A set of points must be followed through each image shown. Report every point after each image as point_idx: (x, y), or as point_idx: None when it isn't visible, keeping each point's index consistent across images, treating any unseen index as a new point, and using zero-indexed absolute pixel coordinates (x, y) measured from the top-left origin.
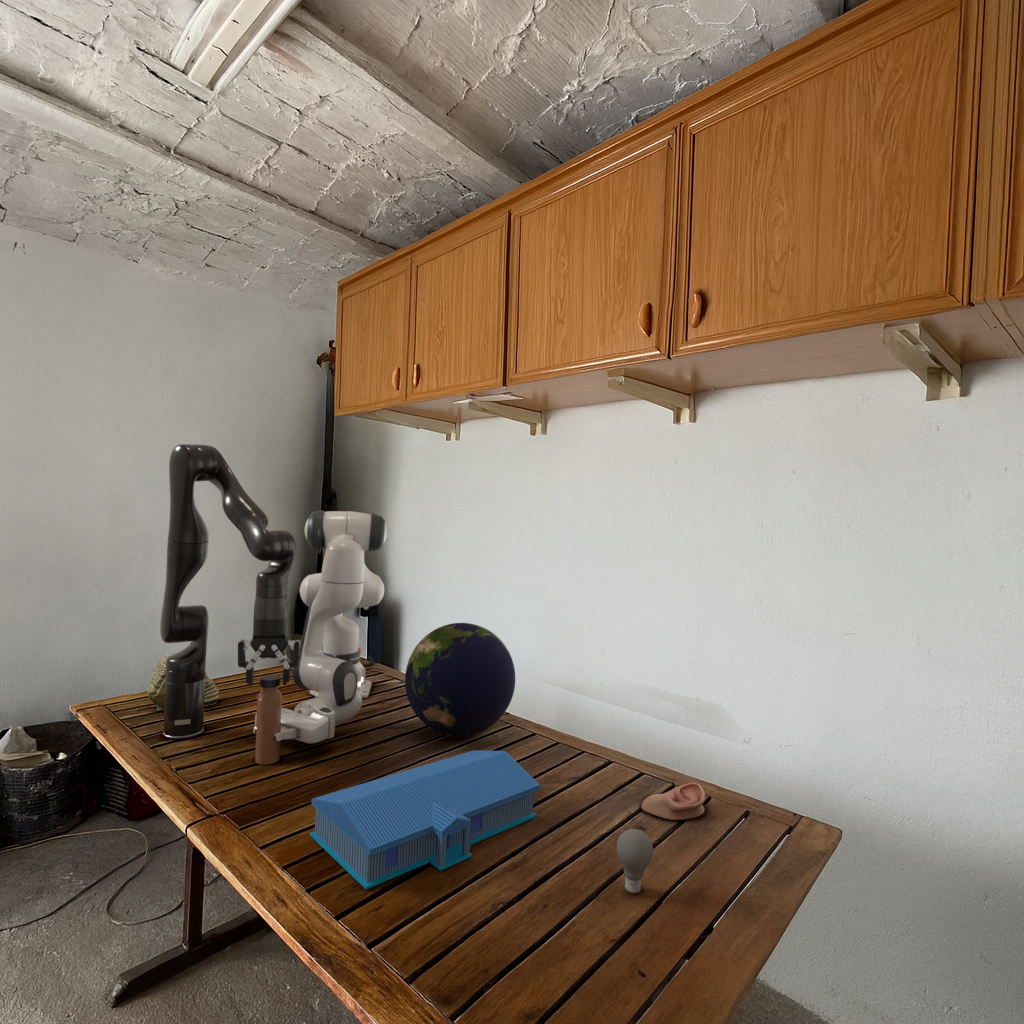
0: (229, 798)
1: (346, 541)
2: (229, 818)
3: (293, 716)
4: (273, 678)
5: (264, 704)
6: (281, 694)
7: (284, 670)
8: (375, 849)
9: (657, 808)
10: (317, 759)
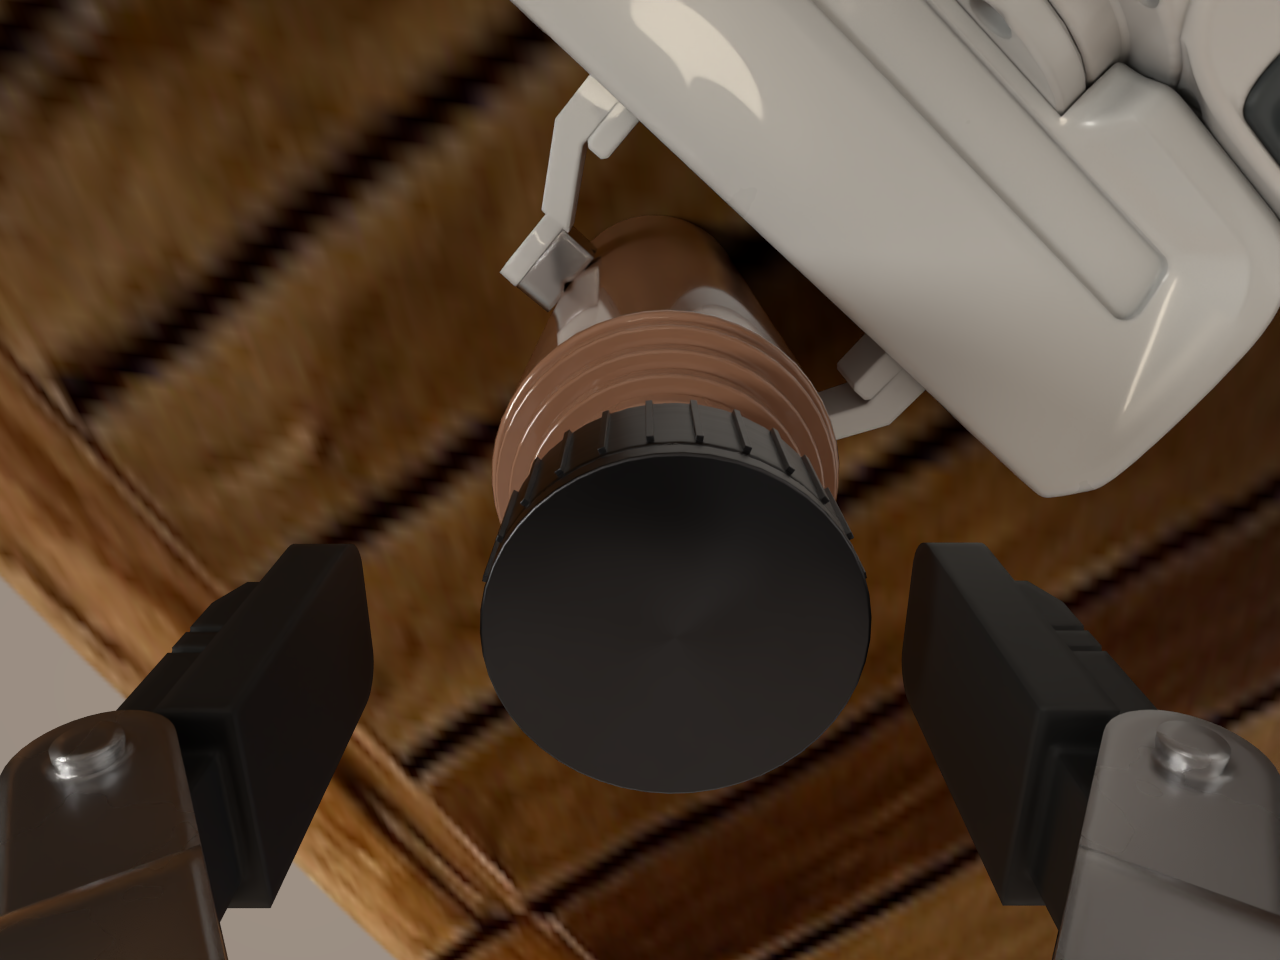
0: (534, 790)
1: None
2: (584, 952)
3: (897, 48)
4: (744, 693)
5: None
6: (836, 474)
7: (1025, 894)
8: None
9: None
10: None
